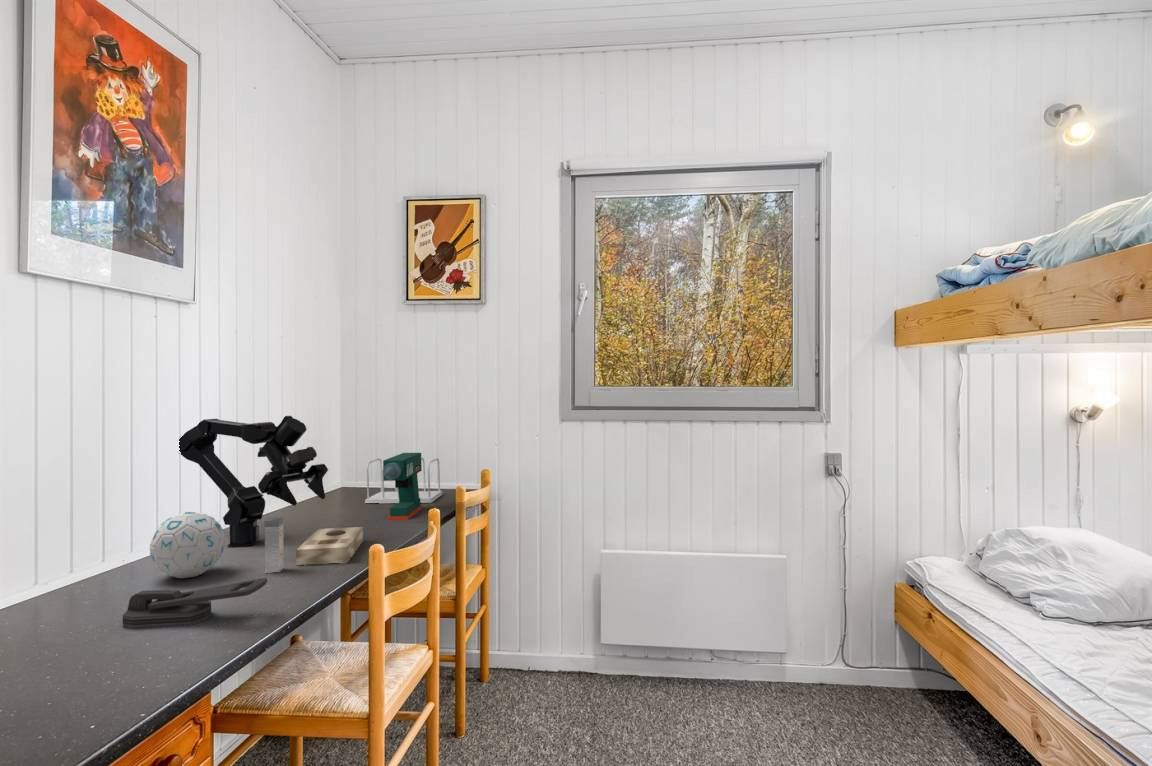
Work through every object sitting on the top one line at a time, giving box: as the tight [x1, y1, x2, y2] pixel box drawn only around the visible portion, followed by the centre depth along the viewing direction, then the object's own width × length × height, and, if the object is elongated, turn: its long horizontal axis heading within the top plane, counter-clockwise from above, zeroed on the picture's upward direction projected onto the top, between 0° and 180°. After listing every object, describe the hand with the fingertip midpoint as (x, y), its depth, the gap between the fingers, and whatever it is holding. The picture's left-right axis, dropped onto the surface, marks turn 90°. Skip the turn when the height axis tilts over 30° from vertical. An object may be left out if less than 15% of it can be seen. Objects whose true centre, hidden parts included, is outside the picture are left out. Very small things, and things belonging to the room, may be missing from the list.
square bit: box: [264, 517, 285, 574], centre depth 149 cm, size 3×3×12 cm
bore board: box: [295, 526, 364, 565], centre depth 165 cm, size 12×22×4 cm, turn 9°
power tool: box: [382, 452, 423, 521], centre depth 206 cm, size 32×7×20 cm, turn 179°
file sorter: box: [364, 457, 443, 504], centre depth 239 cm, size 25×17×16 cm
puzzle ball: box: [149, 511, 226, 579], centre depth 146 cm, size 15×15×15 cm
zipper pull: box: [122, 577, 268, 629], centre depth 120 cm, size 9×7×25 cm
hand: (310, 501), depth 166 cm, fingers open, 9 cm apart
